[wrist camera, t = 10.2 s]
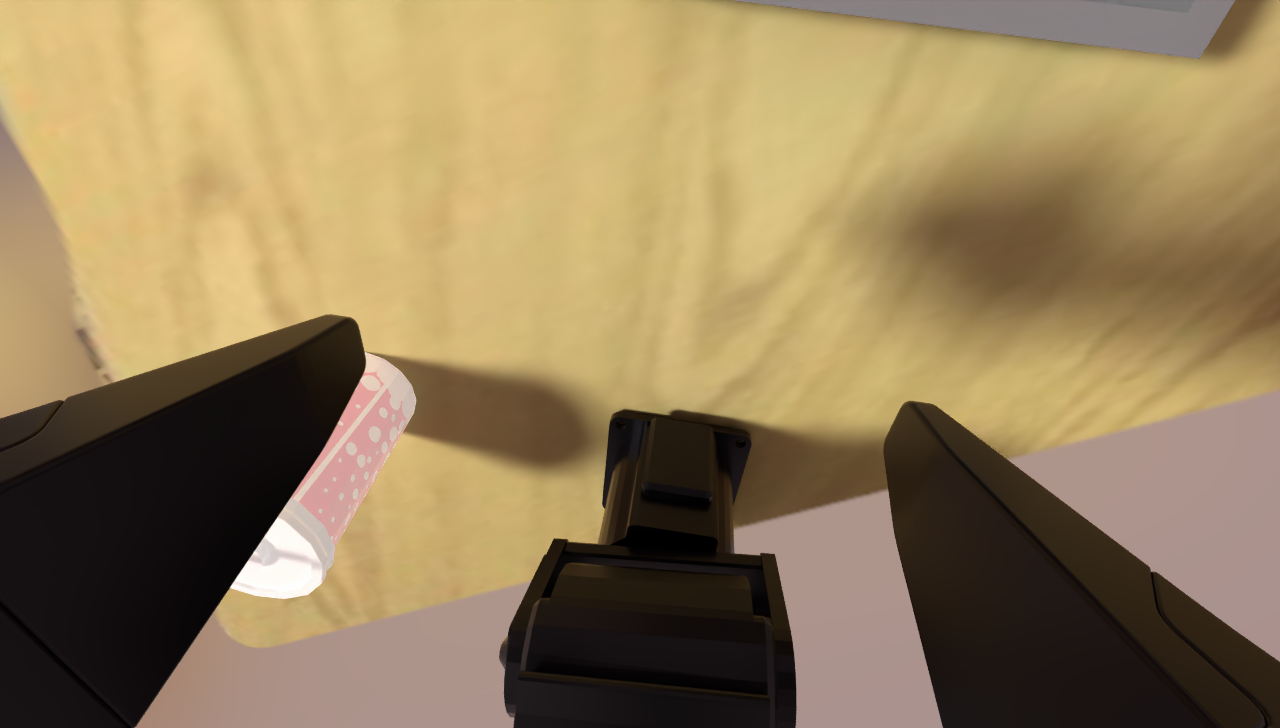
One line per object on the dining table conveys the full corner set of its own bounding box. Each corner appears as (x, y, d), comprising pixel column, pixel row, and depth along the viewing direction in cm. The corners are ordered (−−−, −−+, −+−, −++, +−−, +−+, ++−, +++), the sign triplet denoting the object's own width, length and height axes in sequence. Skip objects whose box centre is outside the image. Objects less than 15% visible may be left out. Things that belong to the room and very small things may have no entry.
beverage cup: (280, 370, 26) (-59, 671, 15) (359, 313, 24) (27, 621, 12) (377, 452, 29) (154, 762, 17) (458, 409, 26) (260, 737, 15)
